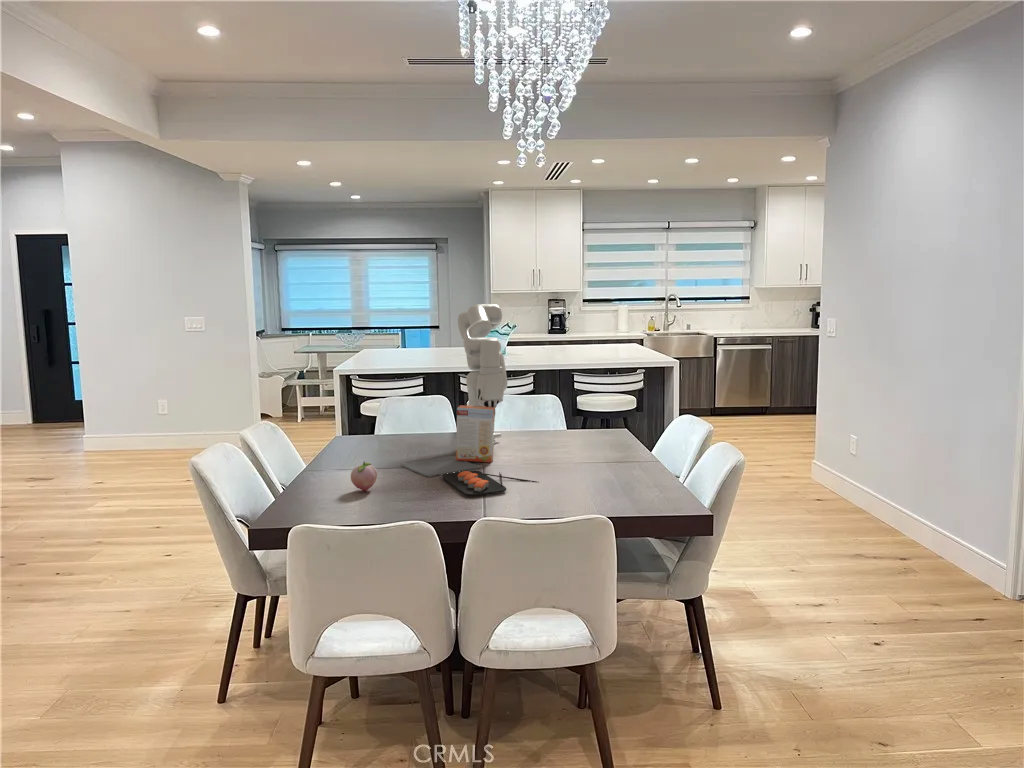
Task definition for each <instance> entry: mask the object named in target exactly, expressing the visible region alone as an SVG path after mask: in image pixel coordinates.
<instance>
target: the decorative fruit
mask: <svg viewBox="0 0 1024 768" xmlns="http://www.w3.org/2000/svg"><path fill="white" fill-rule="evenodd" d="M377 477H378V471H377V469H376V468H375V467H374V465H372V463H371V462H367V461H366V462H365V461H363V463H362V464H358V465H356V466H355V467H354V468H353V469H352V471H351V472H350V481H351V482H352V484H353V486H354V487H356V488H358V489H359V490H361V491H365V492H366V491H368V490H369V489H371V488H372V487H373V486H374V484H375V483H376V481H377V479H378V478H377Z"/></svg>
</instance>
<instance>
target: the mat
mask: <svg viewBox="0 0 1024 768" xmlns="http://www.w3.org/2000/svg"><path fill="white" fill-rule="evenodd" d="M401 465H402V466H404V467H403V468H405V467H406V469H407V468H408V470H409V469H410V470H409V471H412V470H413V471H412V472H414V471H415V472H414V473H416V472H417V473H416V474H418V475H421V474H422V475H421V476H423V475H424V476H423V477H425V476H427V477H426V478H431V477H430V476H434V477H437V476H436V475H439V476H442V475H441V474H447V473H453V472H459V471H462V472H463V471H465V470H468V471H472V470H471V469H474V470H478V468H480V469H481V468H482V466H480V465H478V464H474V463H472V462H470V461H459V460H456V456H452V455H450V456H449V455H448V456H443V457H437V458H432V459H431V458H430V459H425V460H419V461H412V462H406V463H405V462H404V463H400V466H401ZM402 466H401V467H402Z"/></svg>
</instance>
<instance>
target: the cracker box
mask: <svg viewBox="0 0 1024 768" xmlns="http://www.w3.org/2000/svg"><path fill="white" fill-rule="evenodd" d="M495 418H496V408H495V407H484V406H469V405H468V404H467V405H463V404H461V405H458V406H457V408H456V432H455V435H456V437H455V438H456V439H455V458H456V460H459V461H466V462H478V463H492V462H493V459H494V447H495V444H494V440H495V439H494V433H495V421H496V420H495Z"/></svg>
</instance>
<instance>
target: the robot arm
mask: <svg viewBox="0 0 1024 768" xmlns="http://www.w3.org/2000/svg"><path fill="white" fill-rule="evenodd" d="M502 319H503V312H502V309H501V307H500V306H499V305H498V304H495V303H479V304H478V303H477V304H473V305H471V306H470V307H469V308H467V310H466V311H463V312H461V313H459V314H458V317H457V326H458V330H459V333H460V337H461V339H462V340H463V343H462V344H463V348H464V352H465V354H466V362H467V367H468V369H469V370H470V372H469V373H468V374H467V375H466V379H465V380H466V381H465V382H466V389H467V395H468V406H484V407H495V409H496V408H497V406H498V404H499V403H502V402H503V401H504V392H505V391H506V390H507V388H508V376H507V369H506V363H505V358H504V353H503V352H502V351H501V350H502V342H501V341H500V340H499V338H497V337H493V336H492V337H489V336H488V335H489V334H490V333H491V331H492V330H496V329H497V327H498V326H499V325H500V324H501V322H502V321H503V320H502ZM496 438H498V439H499V438H502V433H501V432H497V433H495V432H494V445H495V444H496V440H495V439H496Z"/></svg>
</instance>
